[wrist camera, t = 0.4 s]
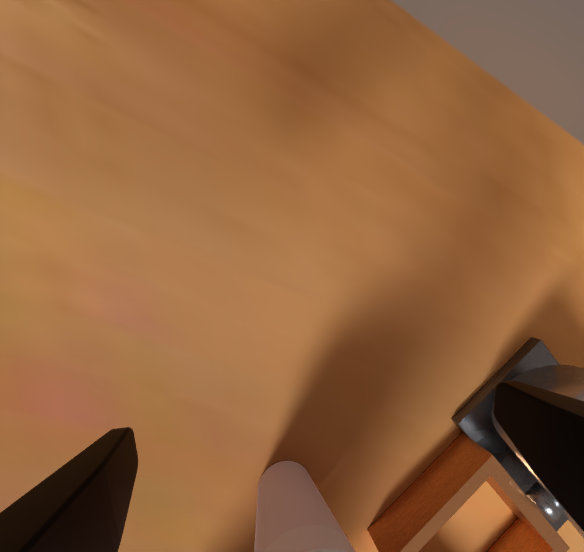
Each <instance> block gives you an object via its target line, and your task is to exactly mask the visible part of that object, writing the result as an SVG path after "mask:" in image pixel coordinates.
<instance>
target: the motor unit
mask: <svg viewBox="0 0 584 552" xmlns="http://www.w3.org/2000/svg"><path fill="white" fill-rule="evenodd" d="M511 380H514V381H519V382H522V383H525V384H528V385H532V386H535V387H538V388H542V389H545V390H548V391H552V392H555V393H558V394H561V395H565V396H568V397H571V398H575V399H578V400H581V401H584V369H583V368H579V367H575V366H569V365H559V364H558V362H557V361H556V360H555V358H554V357H553V355H552V354H551V353H550V351H549V350H548V349H547V347H546V346H545V345H544V343H543V342H542V341H541V340H539V339H536V338H531V339H530V340H529V341H528V342H527V343H526V344H525V345H524V346H523V347H522V348H521V349H520V350H519V351H518V352H517V353H516V354H515V355H514V356H513V357H512V358H511V359H510V360H509V361H508V362H507V363H506V364H505V365H504V366H503V367H502V368H501V369H500V370H499V371H498V372H497V373H496V374H495V375H494V376H493V377H492V378H491V379H490V380H489V381H488V382H487V383H486V384H485V385H484V386H483V387H482V388H481V389H480V390H479V391H478V392H477V393H476V394H475V395H474V396H473V397H472V398H471V400H470V401H469V402H468V403H467V404H466V405H465V406H464V407H463V408H462V409H461V410H460V411H459V412H458V413H457V414H456V415H455V416H454V417H453V418H452V420H453V422H454V423H455V424H456V425H457V426H458V427H459V429H460V430H461V431H462V432H463V433H462V434H461V435H460V436H459V437H458V438H457V439H456V440H455V441H454V442H453V443H452V444H451V445H450V446H449V447H448V448H447V449H446V450H445V451H444V452H443V453H442V454H441V455H440V456H439V457H438V458H437V459H436V460H435V461H434V462H433V463H432V464H431V465H430V466H429V467H428V468H427V469H426V470H425V471H424V472H423V473H422V474H421V475H420V476H419V478H418V479H417V480H416V481H415V482H414V483H413V484H412V485H411V486H410V487H409V488H408V489H407V490H406V491H405V492H404V493H403V494H402V495H401V496H400V497H399V498H398V499H397V500H396V501H395V502H394V503H393V504H392V505H391V506H390V507H389V508H388V509H387V510H386V511H385V512H384V513H383V514H382V515H381V516H380V517H379V518H378V519H377V520H376V521H375V522H374V523H373V525H372V526H371V527H370V528H369V529H368V531H369V533H370V535H371V537H372V539H373V541H374V543H375V545H376V547H377V549H378V551H379V552H418V551H419V550H420V549H421V548H422V547H423V546H424V545H425V544H426V543H427V542H428V541H429V540H430V539H431V538H432V537H433V536H434V535H435V534H436V533H437V531H438V530H439V529H440V528H441V527H442V526H443V525H444V524H445V523H446V522H447V521H448V520H449V519H450V518H451V517H452V516H453V515H454V514H455V513H456V511H457V510H458V509H459V508H460V507H461V506H462V505H463V504H464V503H465V502H466V501H467V500H468V499H469V498H470V497H471V496H472V495H473V494H474V493H475V491H476V490H477V489H478V488H479V487H480V486H481V485H482V484H483V483H484V482H485V481H487V482H488V483H489V484H490V485H491V487H492V488H493V489H494V490H495V491H496V493H497V494H498V495H499V496H500V497H501V498H502V500H503V501H504V502H505V503H506V504H507V505H508V507H509V508H510V509H511V510H512V511H513V513H514V514H515V515H516V516H517V517H518V518H517V520H516V521H515V522H514V523H513V524H512V525H511V526H510V527H509V528H508V529H507V530H506V531H505V533H504V534H503V535H502V536H501V537H500V538H499V539H498V540H497V541H496V542H495V543H494V544H493V546H492V547H491V548H490V549H489V550H488V551H487V552H567V551H568V549H569V546H568V545H567V544H566V543H565V542H564V540H563V539H562V538H561V537H560V535H559V534H558V533H557V531H558V530H559V528H560V527H561V526H562V525H563V524H564V523H565V522H566V521H567V520H569V521H570V522H571V523H572V525H573V526H574V527H575V528H576V530H577V531H578V532H579V533H580V534H581V536H582V537H583V538H584V532H583V531H582V529H581V528H580V527H579V526H578V525H577V523H576V522H575V521H574V520H573V519H572V518H571V516H570V515H569V514H568V513H567V512H566V510H565V509H564V508H563V507H562V506H561V505H560V503H559V502H558V501H557V500H556V499H555V497H554V496H553V495H552V494H551V493H550V492H549V490H548V489H547V488H546V487H545V486H544V484H543V483H542V482H541V481H540V479H539V478H538V477H537V476H536V474H535V473H534V472H533V470H532V469H531V468H530V466H529V465H528V464H527V462H526V461H525V459H524V458H523V457H522V455H521V454H520V453H519V451H518V450H517V448H516V447H515V446H514V444H513V443H512V441H511V440H510V439H509V437H508V436H507V434H506V433H505V432H504V430H503V429H502V427H501V426H500V425H499V423H498V422H497V420H496V418H495V416H494V412H493V408H494V399H495V389H496V385H497V384H498V383H499V382H503V381H511Z"/></svg>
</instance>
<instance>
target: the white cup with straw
mask: <svg viewBox="0 0 584 552" xmlns="http://www.w3.org/2000/svg"><path fill="white" fill-rule="evenodd" d="M254 552H355V550H354V549H353V547H352V545H351V544H350V542H349V541H348V539H347V537H346V536H345V534H344V532H343V531H342V529H341V527H340V526H339V524H338V522H337V521H336V519H335V517H334V515H333V514H332V512H331V510H330V509H329V507H328V505H327V504H326V502H325V500H324V499H323V497H322V495H321V494H320V492H319V490H318V489H317V487H316V485H315V483H314V482H313V480H312V478H311V477H310V475H309V473H308V472H307V470H306V469H305V468H304V467H303V466H302V465H301V464H299V463H297V462H294V461H281V462H277V463H275V464H273V465H272V466H270V467H269V468H268V469H267V470H266V471H265V472H264V473H263V475H262V476H261V478H260V481H259V484H258V496H257V513H256V530H255V546H254Z"/></svg>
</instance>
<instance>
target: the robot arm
mask: <svg viewBox="0 0 584 552" xmlns="http://www.w3.org/2000/svg"><path fill="white" fill-rule="evenodd" d="M493 412H494V416H495V418H496V420H497V422H498V423H499V425H500V426H501V427H502V429H503V430H504V432H505V433H506V434H507V436H508V437H509V439H510V440H511V441H512V443H513V444H514V446H515V447H516V448H517V450H518V451H519V453H520V454H521V455H522V457H523V458H524V459H525V461H526V462H527V464H528V465H529V466H530V468H531V469H532V470H533V472H534V473H535V474H536V476H537V477H538V478H539V479H540V481H541V482H542V483H543V484H544V486H545V487H546V488H547V489H548V490H549V492H550V493H551V494H552V495H553V496H554V497H555V499H556V500H557V501H558V502H559V503H560V505H561V506H562V507H563V508H564V509H565V510H566V512H567V513H568V514H569V515H570V516H571V518H572V519H573V520H574V521H575V522H576V523H577V525H578V526H579V527H580V528H581V529H582V531H583V532H584V401H581V400H578V399H575V398H571V397H568V396H565V395H561V394H558V393H555V392H552V391H548V390H545V389H542V388H538V387H535V386H532V385H528V384H525V383H522V382H519V381H514V380H511V381H503V382H499V383H498V384H497V385H496V389H495V399H494V408H493ZM137 469H138V455H137V449H136V443H135V438H134V432H133V430H132V429H131V428H130V427H126V428H118V429H112V430H110V431H109V432H107V433H106V434H105V435H103V436H102V437H101V438H99V439H98V440H97V441H95V442H94V443H93V444H91V445H90V446H89V447H87V448H86V449H85V450H83V451H82V452H81V453H79V454H78V455H77V456H75V457H74V458H73V459H71V460H70V461H69V462H67V463H66V464H65V465H63V466H62V467H61V468H59V469H58V470H57V471H55V472H54V473H53V474H51V475H50V476H49V477H47V478H46V479H45V480H43V481H42V482H41V483H39V484H38V485H37V486H35V487H34V488H33V489H31V490H30V491H29V492H27V493H26V494H25V495H23V496H22V497H21V498H19V499H18V500H17V501H15V502H14V503H13V504H11V505H10V506H9V507H7V508H6V509H5V510H3V511H2V512H1V513H0V552H118V549H119V545H120V542H121V538H122V534H123V530H124V526H125V521H126V517H127V513H128V508H129V504H130V500H131V495H132V491H133V487H134V482H135V478H136V474H137Z"/></svg>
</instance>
